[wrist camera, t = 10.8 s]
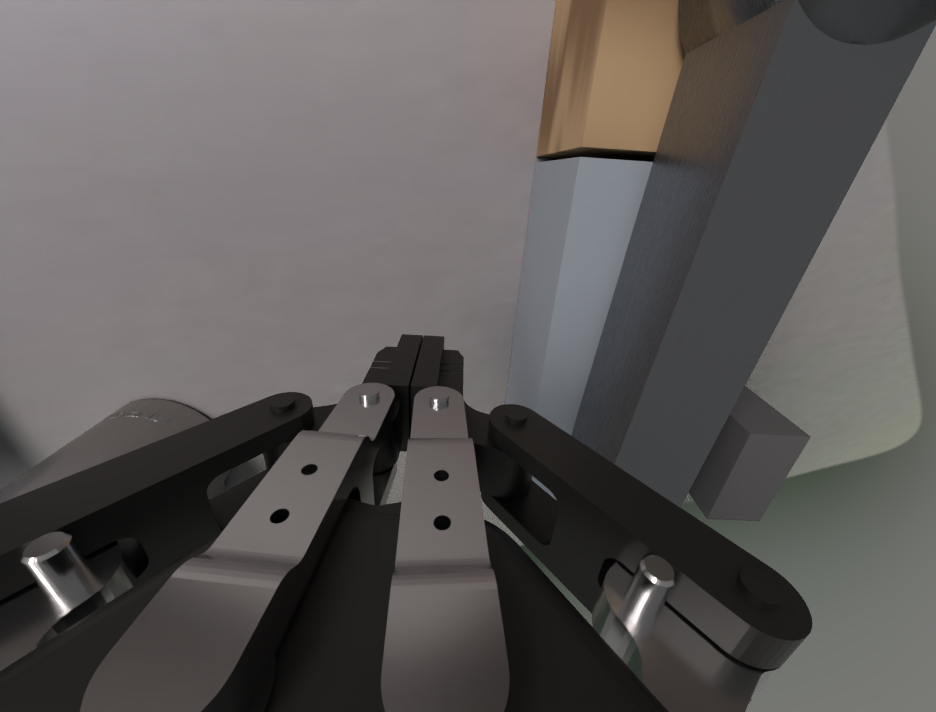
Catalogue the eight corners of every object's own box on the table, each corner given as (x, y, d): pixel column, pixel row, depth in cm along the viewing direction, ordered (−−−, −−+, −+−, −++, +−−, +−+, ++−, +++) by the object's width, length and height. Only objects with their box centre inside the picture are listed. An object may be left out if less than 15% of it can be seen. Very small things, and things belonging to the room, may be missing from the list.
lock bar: (717, -148, 9) (967, -468, 4) (887, -118, 9) (1289, -397, 5) (554, 439, 17) (585, 534, 13) (646, 447, 17) (707, 543, 13)
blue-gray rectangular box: (602, 436, 29) (698, 625, 17) (501, 431, 29) (525, 619, 17) (677, 172, 20) (975, 173, 8) (535, 162, 20) (634, 149, 8)
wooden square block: (678, 166, 20) (816, 162, 12) (536, 156, 20) (581, 146, 12) (734, -30, 17) (979, -215, 9) (561, -45, 17) (650, -247, 9)
